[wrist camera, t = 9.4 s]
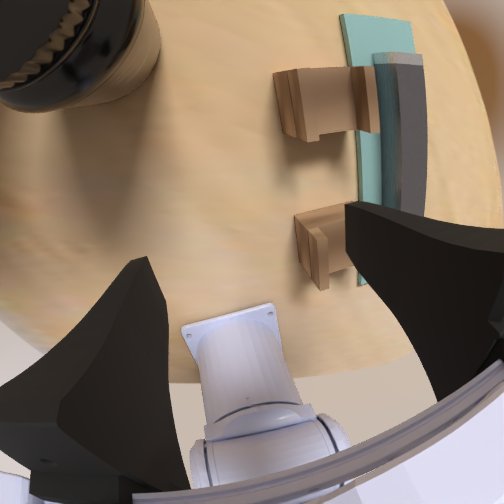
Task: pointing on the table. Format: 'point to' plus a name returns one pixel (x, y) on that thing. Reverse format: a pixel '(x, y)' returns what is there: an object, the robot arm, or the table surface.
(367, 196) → the mat
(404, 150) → the rail
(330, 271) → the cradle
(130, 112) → the table surface
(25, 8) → the supplement bottle
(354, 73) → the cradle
